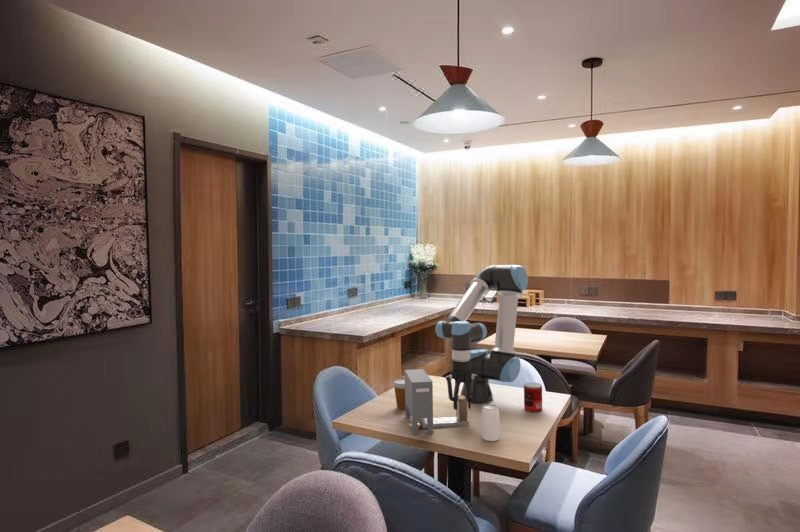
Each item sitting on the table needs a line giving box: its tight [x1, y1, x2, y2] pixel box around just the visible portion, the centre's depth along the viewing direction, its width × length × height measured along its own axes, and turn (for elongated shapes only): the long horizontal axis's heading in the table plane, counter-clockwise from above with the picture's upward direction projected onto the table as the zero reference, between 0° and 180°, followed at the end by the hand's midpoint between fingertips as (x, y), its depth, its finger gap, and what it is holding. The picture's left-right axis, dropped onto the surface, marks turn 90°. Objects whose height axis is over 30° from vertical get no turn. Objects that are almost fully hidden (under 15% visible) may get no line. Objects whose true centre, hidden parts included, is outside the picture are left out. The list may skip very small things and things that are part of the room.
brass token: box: [408, 421, 422, 429], centre depth 194 cm, size 5×5×1 cm
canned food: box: [523, 381, 543, 413], centre depth 213 cm, size 8×8×11 cm
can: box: [481, 403, 500, 442], centre depth 180 cm, size 6×6×12 cm
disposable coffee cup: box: [392, 378, 405, 411], centre depth 218 cm, size 10×10×12 cm
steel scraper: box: [418, 394, 470, 429], centre depth 196 cm, size 19×7×10 cm, turn 98°
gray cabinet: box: [404, 368, 434, 435], centre depth 196 cm, size 8×22×20 cm, turn 7°
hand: (462, 416), depth 197 cm, fingers closed on steel scraper, 3 cm apart
